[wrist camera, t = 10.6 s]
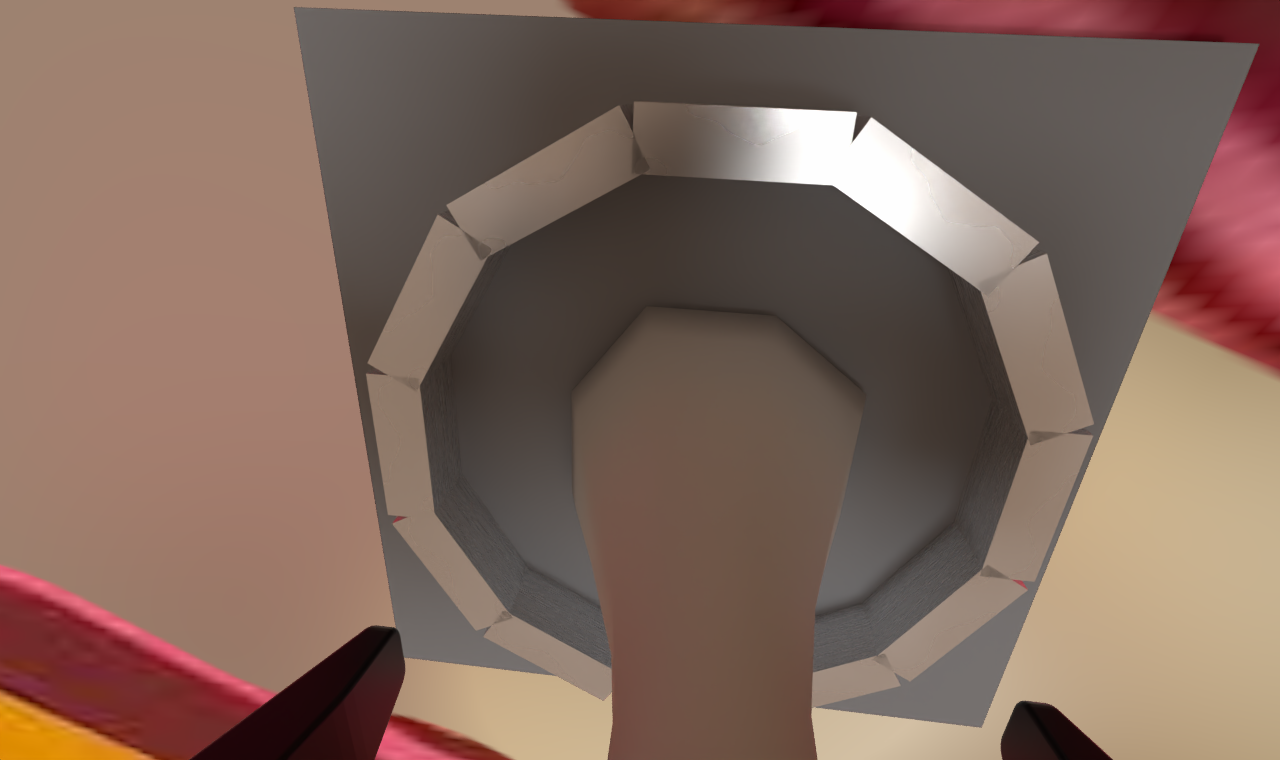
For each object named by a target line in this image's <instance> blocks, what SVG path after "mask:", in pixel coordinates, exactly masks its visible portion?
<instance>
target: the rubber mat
mask: <svg viewBox="0 0 1280 760" xmlns="http://www.w3.org/2000/svg"><path fill="white" fill-rule="evenodd" d="M294 12H295V17H296V23H297V30H298V36H299V42H300V48H301V54H302V60H303V66H304V72H305V78H306V84H307V91H308V97H309V103H310V108H311V115H312V121H313V127H314V133H315V139H316V145H317V151H318V157H319V163H320V169H321V175H322V181H323V188H324V194H325V199H326V206H327V212H328V218H329V224H330V230H331V236H332V242H333V248H334V255H335V261H336V267H337V273H338V279H339V285H340V291H341V297H342V303H343V309H344V316H345V322H346V328H347V334H348V340H349V346H350V352H351V358H352V364H353V370H354V376H355V382H356V388H357V395H358V400H359V406H360V413H361V419H362V425H363V431H364V437H365V443H366V449H367V455H368V461H369V467H370V474H371V480H372V486H373V492H374V498H375V504H376V510H377V516H378V522H379V528H380V534H381V540H382V546H383V553H384V559H385V565H386V571H387V577H388V583H389V589H390V595H391V601H392V607H393V613H394V619H395V625H396V629H397V630H398V631H399V633H400V636H401V642H402V649H403V655H404V657H405V658H413V659H422V660H430V661H438V662H446V663H455V664H463V665H471V666H480V667H487V668H496V669H504V670H512V671H520V672H529V673H537V674H545V675H554V674H552V673H550V672H548V671H546V670H545V669H543V668H541V667H539V666H537V665H535V664H533V663H531V662H530V661H528V660H526V659H524V658H522V657H520V656H518V655H516V654H515V653H513V652H511V651H509V650H507V649H505V648H503V647H501V646H500V645H498V644H496V643H494V642H492V641H490V640H488V639H486V638H485V637H483V636H484V634H485V631H486V629H487V627H486V628H483V629H480V630H477V631H476V630H475V629H474V628H473V626H472V625H471V624H470V623H469V621H468V620H467V619H466V618H465V616H464V615H463V614H462V612H461V611H460V610H459V609H458V607H457V606H456V605H455V603H454V602H453V601H452V600H451V598H450V597H449V596H448V595H447V593H446V592H445V591H444V589H443V588H442V587H441V586H440V584H439V583H438V582H437V580H436V579H435V578H434V577H433V575H432V574H431V573H430V572H429V570H428V569H427V568H426V566H425V565H424V564H423V563H422V561H421V560H420V559H419V558H418V556H417V555H416V554H415V552H414V551H413V550H412V549H411V547H410V546H409V545H408V543H407V542H406V541H405V540H404V538H403V537H402V536H401V535H400V533H399V532H398V531H397V529H396V528H395V527H394V526H393V524H392V523H393V522H394V520H395V519H396V518H397V516H394V515H388V512H387V505H386V499H385V493H384V486H383V480H382V473H381V467H380V460H379V454H378V448H377V441H376V435H375V428H374V422H373V415H372V409H371V403H370V396H369V390H368V383H367V377H366V373H367V372H369V371H370V370H371V369H372V368H374V367H373V366H371V365H370V364H368V361H369V359H370V356H371V354H372V352H373V350H374V348H375V346H376V344H377V342H378V340H379V337H380V335H381V333H382V331H383V329H384V327H385V325H386V323H387V321H388V318H389V316H390V314H391V312H392V310H393V308H394V306H395V304H396V301H397V299H398V297H399V295H400V293H401V291H402V289H403V287H404V285H405V282H406V280H407V278H408V276H409V274H410V272H411V270H412V268H413V266H414V263H415V261H416V259H417V257H418V255H419V253H420V251H421V249H422V247H423V244H424V242H425V240H426V238H427V236H428V234H429V232H430V230H431V228H432V225H433V223H434V221H435V219H436V217H437V215H438V214H440V213H442V212H445V211H447V210H449V209H448V207H447V206H446V205H447V204H449V203H451V202H453V201H454V200H456V199H458V198H459V197H461V196H463V195H465V194H466V193H468V192H470V191H472V190H473V189H475V188H477V187H478V186H480V185H482V184H484V183H485V182H487V181H489V180H491V179H492V178H494V177H496V176H497V175H499V174H501V173H503V172H504V171H506V170H508V169H510V168H511V167H513V166H515V165H516V164H518V163H520V162H522V161H523V160H525V159H527V158H529V157H530V156H532V155H534V154H536V153H537V152H539V151H541V150H542V149H544V148H546V147H548V146H549V145H551V144H553V143H555V142H556V141H558V140H560V139H561V138H563V137H565V136H567V135H568V134H570V133H572V132H574V131H575V130H577V129H579V128H580V127H582V126H584V125H586V124H587V123H589V122H591V121H593V120H594V119H596V118H598V117H599V116H601V115H603V114H605V113H606V112H608V111H610V110H612V109H613V108H615V107H617V106H618V105H627V104H632V107H633V109H634V101H653V102H674V103H695V104H716V105H737V106H757V107H778V108H799V109H820V110H839V111H849V112H857V115H856V116H864V117H872V118H873V119H874V120H876V121H877V122H878V123H880V124H881V125H882V126H884V127H885V128H887V129H888V130H889V131H891V132H892V133H893V134H895V135H896V136H897V137H899V138H900V139H901V140H903V141H904V142H905V143H907V144H908V145H909V146H911V147H912V148H913V149H915V150H916V151H917V152H919V153H920V154H921V155H923V156H924V157H925V158H927V159H928V160H929V161H931V162H932V163H933V164H935V165H936V166H938V167H939V168H940V169H942V170H943V171H944V172H946V173H947V174H948V175H950V176H951V177H952V178H954V179H955V180H956V181H958V182H959V183H960V184H962V185H963V186H964V187H966V188H967V189H968V190H970V191H971V192H972V193H974V194H975V195H976V196H978V197H979V198H980V199H982V200H983V201H984V202H986V203H987V204H989V205H990V206H991V207H993V208H994V209H995V210H997V211H998V212H999V213H1001V214H1002V215H1003V216H1005V217H1006V218H1007V219H1009V220H1010V221H1011V222H1013V223H1014V224H1015V225H1017V226H1018V227H1019V228H1021V229H1022V230H1023V231H1025V232H1026V233H1027V234H1029V235H1030V236H1031V237H1033V238H1034V239H1035V240H1037V241H1038V242H1039V243H1038V244H1037V245H1036V246H1035V247H1034V248H1036V249H1038V250H1041V251H1043V252H1045V253H1047V256H1048V259H1049V263H1050V266H1051V270H1052V274H1053V277H1054V281H1055V284H1056V288H1057V292H1058V295H1059V299H1060V303H1061V306H1062V310H1063V313H1064V317H1065V321H1066V324H1067V328H1068V331H1069V335H1070V339H1071V342H1072V346H1073V349H1074V353H1075V357H1076V360H1077V364H1078V368H1079V371H1080V375H1081V378H1082V382H1083V386H1084V389H1085V393H1086V396H1087V400H1088V404H1089V407H1090V411H1091V415H1092V418H1093V422H1094V424H1093V425H1090V426H1087V427H1084V428H1085V429H1086V430H1088V431H1089V432H1090V433H1091V434H1092V435H1093V438H1092V440H1091V443H1090V445H1089V448H1088V450H1087V453H1086V455H1085V458H1084V460H1083V463H1082V465H1081V468H1080V470H1079V473H1078V475H1077V477H1076V480H1075V482H1074V485H1073V487H1072V490H1071V492H1070V495H1069V497H1068V500H1067V502H1066V505H1065V507H1064V510H1063V512H1062V515H1061V517H1060V520H1059V522H1058V525H1057V527H1056V530H1055V532H1054V535H1053V537H1052V540H1051V542H1050V545H1049V547H1048V550H1047V552H1046V555H1045V557H1044V560H1043V562H1042V565H1041V567H1040V570H1039V572H1038V575H1037V577H1036V580H1035V582H1032V581H1023V583H1024V585H1025V586H1026V588H1027V589H1028V591H1026V592H1025V593H1024V594H1022V595H1021V596H1020V597H1019V598H1017V599H1016V600H1015V601H1013V602H1012V603H1011V604H1009V605H1008V606H1007V607H1006V608H1004V609H1003V610H1002V611H1000V612H999V613H998V614H997V615H995V616H994V617H993V618H991V619H990V620H989V621H988V622H986V623H985V624H984V625H982V626H981V627H980V628H979V629H977V630H976V631H975V632H973V633H972V634H971V635H970V636H968V637H967V638H966V639H964V640H963V641H962V642H960V643H959V644H958V645H957V646H955V647H954V648H953V649H951V650H950V651H949V652H948V653H946V654H945V655H944V656H942V657H941V658H940V659H939V660H937V661H936V662H935V663H933V664H932V665H931V666H930V667H928V668H927V669H926V670H924V671H923V672H922V673H920V674H919V675H918V676H917V677H915V678H914V679H913V680H911V681H908V680H906V679H905V678H903V677H901V676H899V675H898V674H897V676H898V679H899V682H900V685H901V686H899V687H895V688H890V689H886V690H882V691H878V692H874V693H870V694H866V695H862V696H858V697H854V698H850V699H846V700H842V701H838V702H834V703H830V704H825V705H821V706H817V707H816V708H825V709H833V710H841V711H849V712H858V713H865V714H874V715H882V716H890V717H898V718H907V719H915V720H924V721H931V722H939V723H948V724H956V725H964V726H973V727H982V725H983V723H984V720H985V718H986V715H987V713H988V710H989V708H990V706H991V703H992V701H993V698H994V696H995V693H996V691H997V688H998V686H999V683H1000V681H1001V678H1002V676H1003V674H1004V671H1005V669H1006V666H1007V664H1008V661H1009V659H1010V656H1011V654H1012V651H1013V649H1014V647H1015V644H1016V642H1017V639H1018V637H1019V634H1020V632H1021V629H1022V627H1023V624H1024V622H1025V619H1026V617H1027V615H1028V612H1029V610H1030V607H1031V605H1032V602H1033V600H1034V597H1035V595H1036V592H1037V590H1038V587H1039V585H1040V582H1041V580H1042V577H1043V575H1044V573H1045V570H1046V568H1047V565H1048V563H1049V560H1050V558H1051V555H1052V553H1053V551H1054V548H1055V546H1056V543H1057V541H1058V538H1059V536H1060V533H1061V531H1062V528H1063V526H1064V523H1065V521H1066V518H1067V516H1068V514H1069V511H1070V509H1071V506H1072V504H1073V501H1074V499H1075V496H1076V494H1077V492H1078V489H1079V487H1080V484H1081V482H1082V479H1083V477H1084V474H1085V472H1086V469H1087V467H1088V464H1089V462H1090V460H1091V457H1092V455H1093V452H1094V450H1095V447H1096V444H1097V442H1098V440H1099V437H1100V435H1101V432H1102V430H1103V427H1104V425H1105V423H1106V420H1107V418H1108V415H1109V412H1110V410H1111V408H1112V405H1113V403H1114V400H1115V398H1116V396H1117V393H1118V391H1119V388H1120V386H1121V383H1122V381H1123V378H1124V376H1125V373H1126V371H1127V368H1128V366H1129V363H1130V361H1131V359H1132V356H1133V354H1134V351H1135V349H1136V346H1137V344H1138V341H1139V339H1140V336H1141V334H1142V332H1143V329H1144V327H1145V324H1146V322H1147V319H1148V317H1149V314H1150V312H1151V309H1152V307H1153V305H1154V302H1155V300H1156V297H1157V295H1158V292H1159V290H1160V287H1161V285H1162V282H1163V280H1164V277H1165V275H1166V273H1167V270H1168V268H1169V265H1170V263H1171V260H1172V258H1173V255H1174V253H1175V250H1176V248H1177V245H1178V243H1179V241H1180V238H1181V236H1182V233H1183V231H1184V228H1185V226H1186V223H1187V221H1188V218H1189V216H1190V214H1191V211H1192V209H1193V206H1194V204H1195V201H1196V199H1197V196H1198V194H1199V191H1200V189H1201V186H1202V184H1203V182H1204V179H1205V177H1206V174H1207V172H1208V169H1209V167H1210V164H1211V162H1212V159H1213V157H1214V154H1215V152H1216V150H1217V147H1218V145H1219V142H1220V140H1221V137H1222V135H1223V132H1224V130H1225V127H1226V125H1227V122H1228V120H1229V118H1230V115H1231V113H1232V110H1233V108H1234V105H1235V103H1236V100H1237V98H1238V95H1239V93H1240V91H1241V88H1242V86H1243V83H1244V81H1245V78H1246V76H1247V73H1248V71H1249V68H1250V66H1251V63H1252V61H1253V59H1254V56H1255V54H1256V51H1257V49H1258V46H1259V44H1250V43H1223V42H1197V41H1171V40H1144V39H1118V38H1092V37H1065V36H1039V35H1013V34H986V33H960V32H934V31H907V30H881V29H855V28H828V27H802V26H776V25H749V24H723V23H697V22H670V21H644V20H618V19H591V18H565V17H537V16H512V15H486V14H460V13H458V14H457V13H433V12H406V11H404V12H403V11H380V10H379V11H378V10H354V9H328V8H302V7H301V8H300V7H294ZM647 306H651V307H664V308H677V309H691V310H704V311H718V312H731V313H744V314H758V315H771V316H777V317H778V318H779V319H780V320H781V321H782V322H784V323H785V324H786V325H787V326H788V327H789V328H790V329H792V330H793V331H794V332H795V333H796V334H797V335H798V336H800V337H801V338H802V339H803V340H804V341H805V342H807V343H808V344H809V345H810V346H811V347H812V348H813V349H815V350H816V351H817V352H818V353H819V354H820V355H822V356H823V357H824V358H825V359H826V360H827V361H828V362H830V363H831V364H832V365H833V366H834V367H835V368H837V369H838V370H839V371H840V372H841V373H842V374H843V375H845V376H846V377H847V378H848V379H849V380H850V381H851V382H853V383H854V384H855V385H856V386H857V387H858V388H860V389H861V390H862V391H863V392H864V393H865V394H866V400H865V404H864V409H863V413H862V418H861V422H860V427H859V432H858V436H857V441H856V445H855V450H854V454H853V459H852V463H851V468H850V473H849V477H848V482H847V486H846V491H845V495H844V500H843V504H842V509H841V513H840V517H839V521H838V524H837V528H836V531H835V534H834V538H833V541H832V545H831V548H830V552H829V555H828V558H827V562H826V565H825V569H824V572H823V576H822V581H821V585H820V589H819V594H818V598H817V603H816V607H815V616H816V615H819V614H823V613H826V612H830V611H833V610H837V609H840V608H843V607H847V606H850V605H854V604H857V603H861V602H863V601H864V600H865V599H866V598H867V597H868V596H869V595H871V594H872V593H873V592H874V591H875V590H876V589H877V588H878V587H880V586H881V585H882V584H883V583H884V582H885V581H886V580H887V579H889V578H890V577H891V576H892V575H893V574H894V573H895V572H896V571H898V570H899V569H900V568H901V567H902V566H903V565H904V564H905V563H907V562H908V561H909V560H910V559H911V558H912V557H913V556H914V555H916V554H917V553H918V552H919V551H920V550H921V549H922V548H924V547H925V546H926V545H927V544H928V543H929V542H930V541H931V540H933V539H934V538H935V537H936V536H937V535H938V534H939V533H940V532H942V531H943V530H944V529H945V528H946V527H947V526H948V525H949V524H951V523H952V522H953V521H954V518H955V515H956V512H957V509H958V506H959V502H960V499H961V496H962V493H963V490H964V486H965V483H966V480H967V477H968V474H969V470H970V467H971V464H972V461H973V458H974V455H975V451H976V448H977V445H978V442H979V439H980V435H981V432H982V429H983V426H984V423H985V419H986V416H987V413H988V410H989V407H990V403H991V400H992V398H991V395H990V392H989V389H988V387H987V384H986V381H985V378H984V375H983V372H982V369H981V366H980V363H979V360H978V357H977V354H976V351H975V348H974V345H973V342H972V339H971V336H970V333H969V330H968V327H967V324H966V321H965V318H964V315H963V312H962V309H961V307H960V304H959V301H958V298H957V295H956V292H955V289H954V286H953V283H952V280H951V277H950V274H949V271H948V268H947V266H945V265H944V264H942V263H941V262H940V261H938V260H937V259H935V258H934V257H933V256H931V255H930V254H928V253H927V252H926V251H924V250H923V249H922V248H920V247H919V246H917V245H916V244H915V243H913V242H912V241H910V240H909V239H908V238H906V237H905V236H903V235H902V234H901V233H899V232H898V231H896V230H895V229H894V228H892V227H891V226H889V225H888V224H887V223H885V222H884V221H882V220H881V219H880V218H878V217H877V216H876V215H874V214H873V213H871V212H870V211H869V210H867V209H866V208H864V207H863V206H862V205H860V204H859V203H857V202H856V201H855V200H853V199H852V198H850V197H849V196H848V195H846V194H845V193H843V192H842V191H841V190H839V189H838V188H836V187H835V186H834V185H820V184H802V183H785V182H767V181H750V180H733V179H715V178H698V177H680V176H663V175H645V174H641V175H639V176H637V177H635V178H634V179H632V180H630V181H628V182H626V183H624V184H622V185H621V186H619V187H617V188H615V189H613V190H611V191H609V192H608V193H606V194H604V195H602V196H600V197H598V198H596V199H594V200H593V201H591V202H589V203H587V204H585V205H583V206H581V207H580V208H578V209H576V210H574V211H572V212H570V213H568V214H567V215H565V216H563V217H561V218H559V219H557V220H555V221H554V222H552V223H550V224H548V225H546V226H544V227H542V228H540V229H539V230H537V231H535V232H533V233H531V234H529V235H527V236H526V237H524V238H522V239H520V240H518V241H516V242H514V243H513V244H511V245H510V247H509V249H508V250H507V252H506V254H505V256H504V258H503V260H502V262H501V263H500V265H499V267H498V269H497V271H496V273H495V275H494V276H493V278H492V280H491V282H490V284H489V286H488V287H487V289H486V291H485V293H484V295H483V297H482V299H481V300H480V302H479V304H478V306H477V308H476V310H475V311H474V313H473V315H472V317H471V319H470V321H469V323H468V324H467V326H466V328H465V330H464V332H463V334H462V335H461V337H460V339H459V341H458V343H457V345H456V347H455V348H454V350H453V352H452V354H451V361H452V372H453V383H454V393H455V404H456V415H457V426H458V437H459V448H460V459H461V470H462V474H463V475H464V477H465V478H466V480H467V481H468V482H469V484H470V485H471V487H472V488H473V489H474V491H475V492H476V494H477V495H478V496H479V498H480V499H481V501H482V502H483V504H484V505H485V506H486V508H487V509H488V511H489V512H490V513H491V515H492V516H493V518H494V519H495V520H496V522H497V523H498V525H499V526H500V527H501V529H502V530H503V532H504V533H505V535H506V536H507V537H508V539H509V540H510V542H511V543H512V544H513V546H514V547H515V549H516V550H517V551H518V553H519V554H520V556H521V557H522V558H523V560H524V561H525V563H526V564H527V566H529V567H530V568H532V569H534V570H536V571H538V572H539V573H541V574H543V575H545V576H547V577H548V578H550V579H552V580H554V581H555V582H557V583H559V584H561V585H563V586H564V587H566V588H568V589H570V590H572V591H573V592H575V593H577V594H579V595H581V596H582V597H584V598H586V599H588V600H590V601H591V602H593V603H595V604H597V605H598V606H600V601H599V597H598V592H597V587H596V583H595V578H594V574H593V569H592V564H591V561H590V557H589V554H588V550H587V546H586V543H585V539H584V536H583V532H582V529H581V525H580V522H579V518H578V515H577V511H576V507H575V503H574V498H573V494H572V390H573V389H574V388H575V387H576V386H577V385H578V384H579V383H580V381H581V380H582V379H583V378H584V377H585V376H586V375H587V373H588V372H589V371H590V370H591V369H592V368H593V367H594V366H595V364H596V363H597V362H598V361H599V360H600V359H601V358H602V356H603V355H604V354H605V353H606V352H607V351H608V350H609V349H610V347H611V346H612V345H613V344H614V343H615V342H616V341H617V339H618V338H619V337H620V336H621V335H622V334H623V333H624V331H625V330H626V329H627V328H628V327H629V326H630V325H631V324H632V322H633V321H634V320H635V319H636V318H637V317H638V316H639V314H640V313H641V312H642V311H643V310H644V309H645V308H646V307H647ZM600 607H601V606H600ZM554 676H556V675H554Z"/></svg>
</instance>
